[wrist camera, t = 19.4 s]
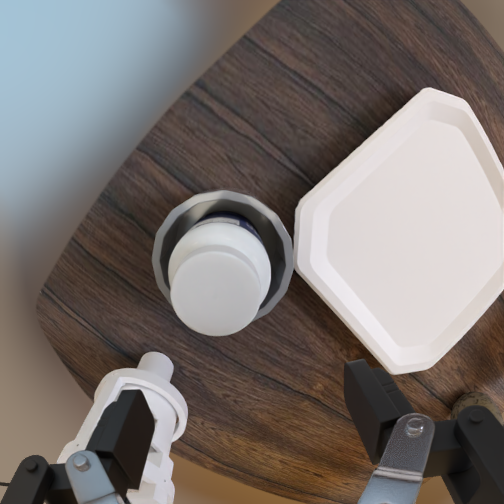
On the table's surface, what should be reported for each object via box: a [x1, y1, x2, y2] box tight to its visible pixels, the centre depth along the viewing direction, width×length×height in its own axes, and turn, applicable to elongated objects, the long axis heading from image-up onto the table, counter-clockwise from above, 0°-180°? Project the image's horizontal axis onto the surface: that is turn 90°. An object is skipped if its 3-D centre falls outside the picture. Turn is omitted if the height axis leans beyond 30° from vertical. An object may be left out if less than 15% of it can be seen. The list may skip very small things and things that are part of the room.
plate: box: [293, 88, 504, 375], centre depth 23 cm, size 21×21×2 cm
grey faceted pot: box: [152, 187, 294, 323], centre depth 21 cm, size 8×8×6 cm
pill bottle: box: [168, 210, 271, 336], centre depth 18 cm, size 5×5×10 cm
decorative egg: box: [451, 392, 504, 427], centre depth 25 cm, size 6×6×10 cm
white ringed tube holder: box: [57, 352, 188, 504], centre depth 18 cm, size 7×7×15 cm
